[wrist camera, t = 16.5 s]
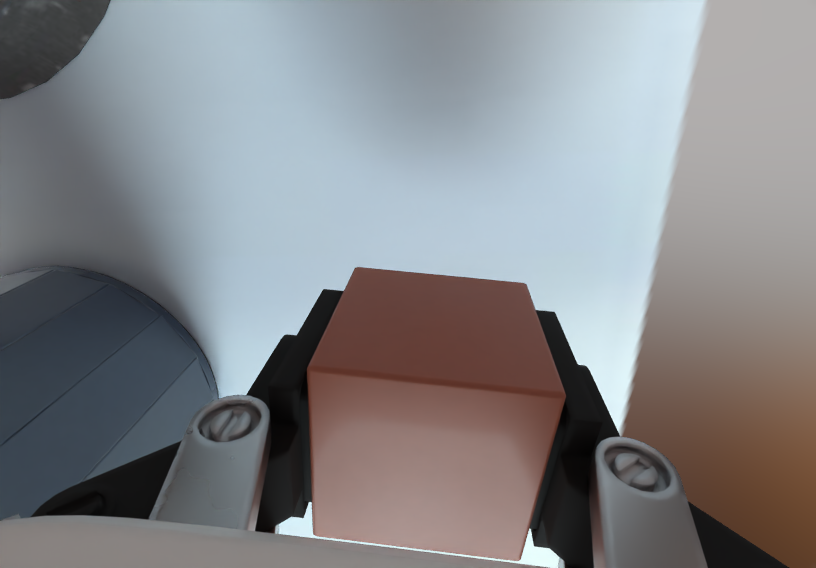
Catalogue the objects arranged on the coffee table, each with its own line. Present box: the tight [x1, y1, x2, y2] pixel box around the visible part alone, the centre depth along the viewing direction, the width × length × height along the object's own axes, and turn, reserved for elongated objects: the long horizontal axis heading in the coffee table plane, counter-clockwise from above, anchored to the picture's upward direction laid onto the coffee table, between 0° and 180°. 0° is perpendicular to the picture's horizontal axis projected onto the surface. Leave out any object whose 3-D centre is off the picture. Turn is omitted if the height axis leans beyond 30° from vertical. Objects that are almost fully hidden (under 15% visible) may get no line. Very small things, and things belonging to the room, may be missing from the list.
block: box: [307, 267, 566, 561], centre depth 10 cm, size 4×4×4 cm
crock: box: [0, 266, 218, 520], centre depth 17 cm, size 11×11×10 cm
